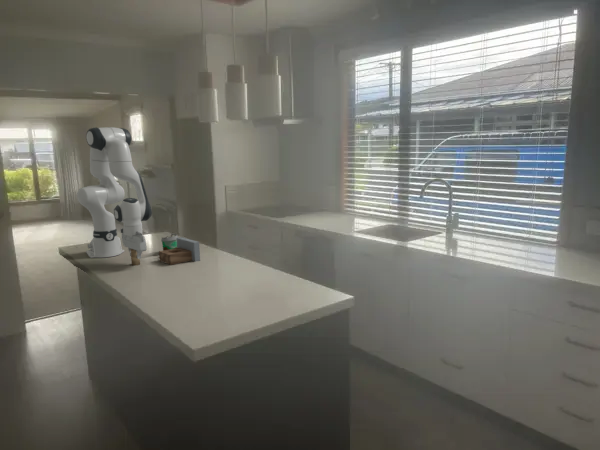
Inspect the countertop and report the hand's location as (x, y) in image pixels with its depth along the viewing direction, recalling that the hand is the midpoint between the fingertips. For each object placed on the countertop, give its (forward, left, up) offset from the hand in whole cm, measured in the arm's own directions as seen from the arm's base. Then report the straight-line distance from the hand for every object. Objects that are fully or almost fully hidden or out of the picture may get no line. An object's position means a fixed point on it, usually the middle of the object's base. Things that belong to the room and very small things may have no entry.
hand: (135, 257), depth 223 cm
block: (+9, +17, -4) cm, 20 cm away
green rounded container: (-8, +25, -4) cm, 26 cm away
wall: (+9, +25, -4) cm, 27 cm away
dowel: (0, 0, -4) cm, 4 cm away
